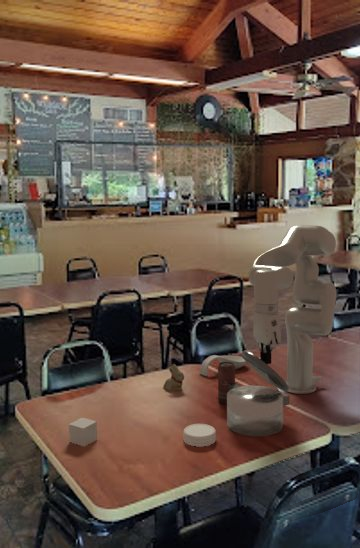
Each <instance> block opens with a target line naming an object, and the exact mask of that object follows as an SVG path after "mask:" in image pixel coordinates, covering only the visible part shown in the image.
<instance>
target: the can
mask: <svg viewBox="0 0 360 548" xmlns="http://www.w3.org/2000/svg"><path fill="white" fill-rule="evenodd" d="M236 370H237V369H235V365H234V363H231V362H222V363H221V362H219V363H218V366H217V400H218V402H219V403H221V404H224V405H227V393H228V392H229V391H230V390H231V389H229V388H228V383H234V382H235V383H236Z"/></svg>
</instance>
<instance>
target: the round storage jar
mask: <svg viewBox="0 0 360 548" xmlns="http://www.w3.org/2000/svg"><path fill="white" fill-rule="evenodd" d="M228 388H229V389H231V390H230V391H229V392H228V393H227V404H226V425H227V428H228V429H229V430H230V431H232V432H234V433H236V434H239V435H242V436H246V437H247V436H248V437H268V436H272V435H276V434H278V433H280V432H281V431H282V430H283V425H284V407H285V406H290V395H289V394H287V393H284V392H282V391H280V390H278V389H277V388H276V389H275V388H273V387H268V386H263V385H242V386H240V385H239V384H237V383H236V381H235V382H234V383H228Z"/></svg>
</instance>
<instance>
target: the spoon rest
mask: <svg viewBox="0 0 360 548" xmlns="http://www.w3.org/2000/svg"><path fill="white" fill-rule="evenodd" d="M215 360H218V361H219V363H222V362H231V363H234V365H235V370H238V369H240V368H242V367H243V366H245V365H246V364H248V363H247V362H246V361H245V360H244V359H243V357H242V356H239V355H216V354H213V355H209V356H208V357H207V358H205V359H204V360H203V362H202V364H201V365H200V368H199V375H202V376H203V377H208V375H209V372H208V370H209V365H210V364H211V363H212V362H214V361H215Z"/></svg>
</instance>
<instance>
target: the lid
mask: <svg viewBox="0 0 360 548" xmlns="http://www.w3.org/2000/svg"><path fill="white" fill-rule="evenodd" d="M240 355H241V356H240V357H243V359H244V360H245V361H246V362H247V363H246V364H247V365H249V366H250V368H251V369H253V371H255V372H256V373H257V374H258V375H259V376H260V377H261V378H262V379H264V380H265V381H267V383H269V384H270V385H271V386H273V387H274V389H275V388H276V390H280V391H282V392H284V393H285V394H287V393H286V392H288V389H289V386H288V385H287V384H286V382H287V381H285V380H284V379H283V378H282V376H280V374H279V373H277V372H276V370H275V369H273V368H272V367H270V365H269V364H266V363H265V362H264V361H262V360H261V359H260V357H259V356H257V355H256V354H254V353H253V352H251V351H249V350H247V349H245V350H243V352H241V354H240Z"/></svg>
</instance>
